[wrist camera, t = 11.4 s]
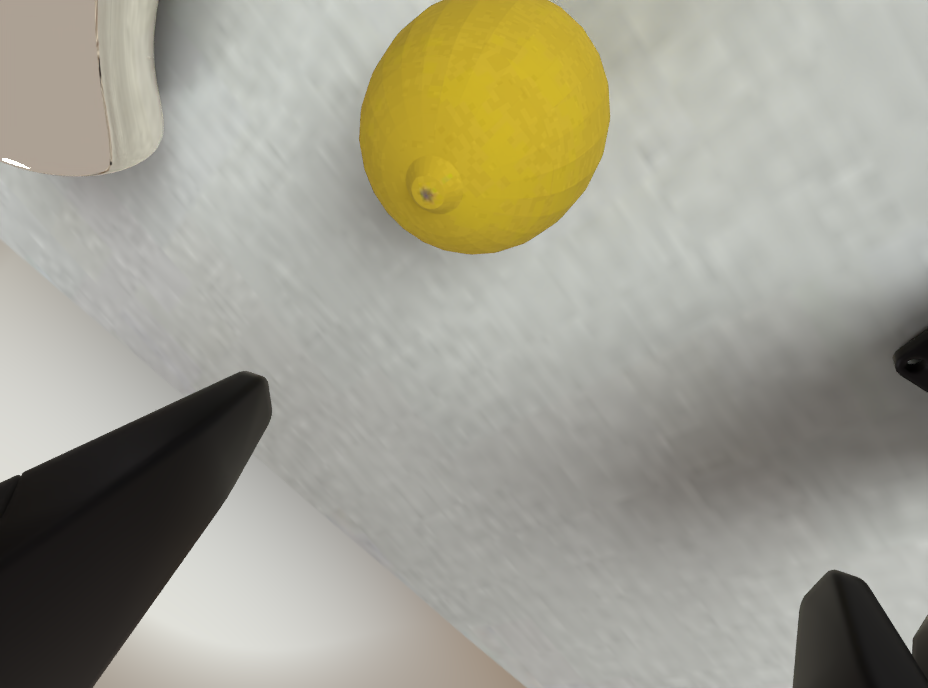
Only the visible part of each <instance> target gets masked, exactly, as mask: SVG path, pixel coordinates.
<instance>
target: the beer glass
mask: <svg viewBox="0 0 928 688" xmlns="http://www.w3.org/2000/svg"><path fill="white" fill-rule="evenodd" d="M158 2H159V0H0V161H1V162H3V163H6V164H9V165H11V166H14V167H18V168H21V169H25V170H29V171H33V172H38V173H43V174H49V175H58V176H76V177H78V176H96V175H104V174H110V173H114V172H118V171H121V170H125V169H127V168H130V167H132V166H135V165H137V164H139V163H141V162H142V161H144V160H145V159H147V158H148V157H149V156H150V155H152V154H153V152H154V151H155V150H156V149H157V147H158V146H159V144H160V142H161V139H162V136H163V131H164V121H163V113H162V107H161V101H160V96H159V90H158V85H157V79H156V73H155V62H154V32H155V23H156V15H157V7H158Z"/></svg>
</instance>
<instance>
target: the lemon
mask: <svg viewBox="0 0 928 688" xmlns="http://www.w3.org/2000/svg"><path fill="white" fill-rule="evenodd" d="M609 122H610V107H609V89H608V81H607V78H606V75H605V72H604V68H603V65H602V62H601V59H600V56H599V53H598V52H597V50H596V48H595V47H594V45H593V44H592V42H591V40H590V39H589V37H588V36H587V34H586V32H585V31H584V29H583V28H582V27H581V26H580V25H579V24H578V23H577V22H576V21H575V20H574V19H573V18H572V17H571V16H569V15H568V14H567V13H566V12H565V11H564V10H563V9H562V8H561V7H559V6H558V5H556V4H554V3H552V2H550V1H548V0H443V1H440V2H438V3H436V4H433V5H431V6H430V7H429V8H427V9H426V10H425V11H423V12H422V13H421V14H420V15H419V16H418V17H416V18H415V19H414V20H413V21H412V22H410V23H409V24H408V25H407V26H406V27H405V28H403V29H402V30H401V31H400V32H399V33H398V34H397V36H396V37H395V39H394V40H393V41H392V43H391V44H390V46H389V48H388V49H387V51H386V52H385V54H384V55H383V57H382V58H381V60H380V61H379V63H378V64H377V66H376V68H375V70H374V72H373V74H372V77H371V79H370V82H369V85H368V88H367V92H366V95H365V98H364V101H363V104H362V108H361V118H360V135H359V141H360V147H361V152H362V158H363V164H364V168H365V172H366V174H367V177H368V179H369V181H370V184H371V186H372V189H373V191H374V193H375V195H376V196H377V198H378V199H379V201H380V202H381V204H382V205H383V207H384V208H385V210H386V211H387V213H388V214H389V215H390V216H391V217H392V218H393V219H394V220H395V221H396V222H397V223H398V224H399V225H400V226H401V227H403V228H404V229H405V230H406V231H408V232H409V233H411V234H412V235H414V236H415V237H417V238H418V239H420V240H421V241H423V242H425V243H427V244H430V245H432V246H435V247H437V248H440V249H442V250H446V251H452V252H458V253H464V254H484V253H496V252H499V251H502V250H505V249H508V248H511V247H514V246H518V245H521V244H524V243H526V242H527V241H529V240H531V239H532V238H534V237H535V236H537V235H538V234H540V233H541V232H543V231H544V230H546V229H547V228H549V227H550V226H552V225H553V224H554V223H556V222H557V221H558V220H559V219H560V218H561V217H562V216H563V215H564V214H565V213H566V212H567V211H568V210H569V208H570V207H571V206H572V205H573V204H574V203H575V202H576V200H577V199H578V198H579V197H580V196H581V195H582V193H583V192H584V191H585V190H586V188H587V186H588V184H589V182H590V180H591V178H592V176H593V174H594V172H595V170H596V168H597V166H598V164H599V162H600V160H601V158H602V155H603V152H604V147H605V142H606V137H607V132H608V127H609Z"/></svg>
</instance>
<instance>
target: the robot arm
mask: <svg viewBox="0 0 928 688" xmlns="http://www.w3.org/2000/svg"><path fill="white" fill-rule="evenodd" d="M912 359H921V361H920V362H918V363H916V364H908V363H907V362H908V361H910V360H912ZM893 361H894V364H895V368H896V371H897V372H898V373H899V374H900V375H901V376H903V377H904V378H906V379H907V380H909V381H910V382H912V383H913V384H915V385H917V386H918V387H920V388H921V389H923V390H924V391H926V392H928V330H926V331H925V332H923V333H922V334H920V335H919V336H917V337H916V338H914V339H913V340H911V341H910V342H908V343H907V344H905V345H904V346H902V347H901V348H900V349H898V350H897V351H896V352H895V354H894V356H893ZM271 416H272V405H271V399H270V392H269V385H268V381H267V380H266V378H265V377H263V376H260V375H257V374H254V373H251V372H248V371H242V372H238V373H236V374H234V375H232V376H230V377H227V378H225V379H223V380H221V381H219V382H217V383H215V384H212V385H210V386H208V387H206V388H204V389H202V390H199V391H197V392H195V393H193V394H191V395H189V396H187V397H184V398H182V399H180V400H178V401H176V402H174V403H171V404H169V405H167V406H165V407H163V408H161V409H159V410H157V411H154V412H152V413H150V414H148V415H146V416H143V417H141V418H139V419H137V420H135V421H133V422H131V423H128V424H126V425H124V426H122V427H120V428H118V429H115V430H113V431H111V432H109V433H107V434H105V435H103V436H100V437H98V438H96V439H94V440H92V441H90V442H88V443H86V444H83V445H81V446H79V447H77V448H75V449H73V450H70V451H68V452H66V453H64V454H62V455H60V456H58V457H55V458H53V459H51V460H49V461H47V462H44V463H42V464H40V465H38V466H36V467H34V468H32V469H29V470H27V471H25V472H24V473H22V476H20V475H16V476H14V477H12V478H10V479H8V480H5V481H3V482H1V483H0V688H93V686H94V685H95V683H96V682H97V681H98V679H99V678H100V677H101V675H102V674H103V672H104V671H105V670H106V668H107V667H108V665H109V664H110V662H111V661H112V660H113V658H114V657H115V655H116V654H117V652H118V651H119V650H120V648H121V647H122V646H123V644H124V643H125V641H126V640H127V638H128V637H129V636H130V634H131V633H132V631H133V630H134V629H135V627H136V626H137V624H138V623H139V622H140V620H141V619H142V617H143V616H144V615H145V613H146V612H147V610H148V609H149V608H150V606H151V605H152V603H153V602H154V600H155V599H156V598H157V596H158V595H159V593H160V592H161V590H162V589H163V588H164V586H165V585H166V584H167V582H168V581H169V579H170V578H171V577H172V575H173V574H174V572H175V571H176V570H177V568H178V567H179V565H180V564H181V563H182V561H183V560H184V558H185V557H186V555H187V554H188V552H189V551H190V550H191V548H192V547H193V546H194V544H195V543H196V541H197V540H198V539H199V537H200V536H201V534H202V533H203V532H204V530H205V529H206V527H207V526H208V524H209V523H210V522H211V520H212V519H213V518H214V516H215V514H216V513H217V512H218V510H219V509H220V508H221V506H222V504H223V503H224V501H225V500H226V499H227V497H228V495H229V493H230V492H231V490H232V489H233V487H234V485H235V483H236V482H237V480H238V478H239V476H240V474H241V473H242V471H243V469H244V467H245V465H246V464H247V462H248V460H249V458H250V456H251V455H252V453H253V451H254V449H255V448H256V446H257V444H258V442H259V440H260V439H261V437H262V435H263V433H264V431H265V430H266V428H267V426H268V424H269V422H270V419H271ZM793 688H928V615H927V617H926V618H925V620H924V621H923V623H922V625H921V626H920V628H919V630H918V631H917V633H916V634H915V636H914V638H913V647H912V654H911V653H910V651H909V649H908V648H907V646H906V645H905V643H904V641H903V640H902V638H901V637H900V635H899V634H898V632H897V630H896V629H895V627H894V626H893V624H892V622H891V621H890V619H889V618H888V616H887V615H886V613H885V611H884V610H883V608H882V607H881V605H880V603H879V602H878V600H877V599H876V597H875V596H874V594H873V592H872V591H871V589H870V588H869V586H868V585H867V584H866V583H865V582H864V581H863V580H862V579H860V578H858V577H856V576H853V575H850V574H847V573H844V572H841V571H838V570H831V571H828V572H827V573H826V574H825V575H824V576H823V577H822V578H821V579H820V580H819V581H818V582H817V583H816V584H815V585H814V586H813V587H812V588H811V590H810V591H809V592H808V593H807V594H806V595H805V596H804V598H803V600H802V602H801V605H800V610H799V620H798V631H797V643H796V655H795V666H794V678H793Z"/></svg>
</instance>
